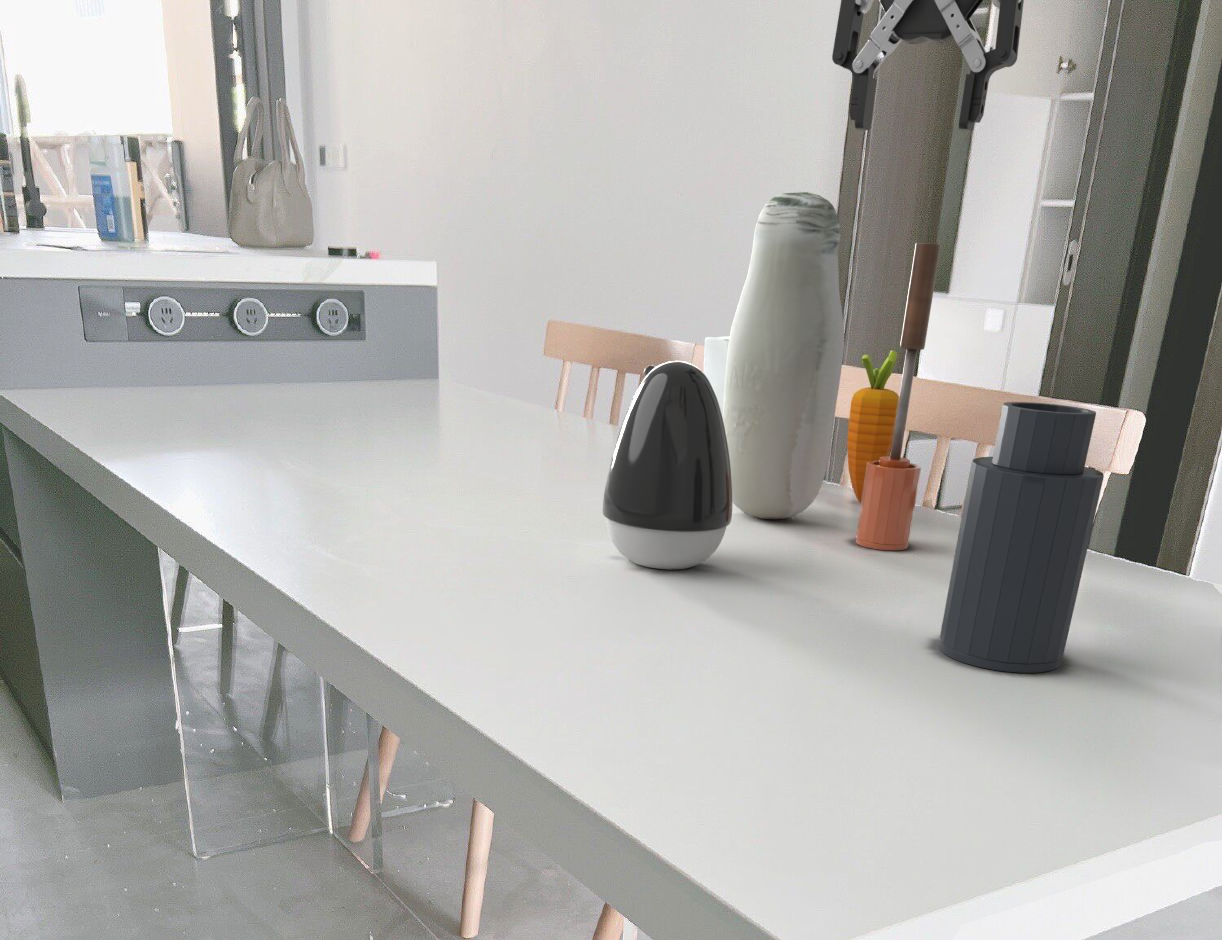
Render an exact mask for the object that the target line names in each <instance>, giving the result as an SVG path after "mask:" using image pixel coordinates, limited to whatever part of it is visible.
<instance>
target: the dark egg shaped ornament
mask: <svg viewBox="0 0 1222 940" xmlns="http://www.w3.org/2000/svg"><path fill="white" fill-rule="evenodd" d="M643 375H644V379H643V380H642V382H641V384H640V385H639V387H638V388H637V390H636V392H635V393H634V395H633V397H632V398H631V399H632V400H631V401H630V404H629V405H628V408H627V410H626V413H625V415H624V419H623V420H622V424H621V427H620V430H619V433H618V435H617V438H616V441H615V445H614V448H613V452H612V455H611V459H610V463H609V468H608V472H607V477H606V481H605V487H604V493H603V498H602V511H601V512H602V515H603V516H604V517H605V520H606V528H607V531H608V535H609V537H610V539H611V542H612V544H613V545H614V547H615V548H616V550H617V551H618V552H619V553H620V554H621V556H623V557H624V558H625V559H627V560H628V561H630V562H632V563H634V564H635V565H638V566H642V567H644V568H645V567H646V568H650V569H658V570H685V569H689V568H692V567H695V566H698V565H700V564H702V563H704V562H705V561H707V560H708V559H709V558H710V557H711V556H712V555H713V554H715V552H716V551H717V549H718V548H719V546H720V544H722V543H721V542H722V541H723V539H724V537H725V533H726V529H727V527H728V526H729V525H730V524H731V523H732V517H733V502H732V479H731V466H730V457H729V450H728V444H727V438H726V432H725V427H724V422H723V417H722V414H721V410H720V406H719V403H718V400H717V397H716V395H715V392H714V390H713V388H712V386H711V384H710V382H709V380H708V378H707V377H706V375H705V374H704V373H703V370H701V369H700V368H698V367H697V366H696V365H693V364H692V363H689V362H687V361H682V360H674V361H673V360H672V361H667V362H665V363H662V364H659V365H657V366H655V365H654V364H653V365H652V364H651V365H650V364H649V365H648V366H646V367H645V368H644V371H643Z"/></svg>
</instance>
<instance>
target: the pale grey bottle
mask: <svg viewBox="0 0 1222 940" xmlns="http://www.w3.org/2000/svg"><path fill="white" fill-rule="evenodd" d="M840 239H841V225H840V218H839V216H838V212H837V210H836V208H835V207H834V205H833V203H832V202H830V200H828V199H826V198H825V197H822V195H819V194H815V193H813V192H808V191H803V192H801V191H799V192H783V193H780V194H777V195H775V196H773V197H772V198H771V199H769V200H768V201H767V203H766V204H765V205H764V206H763V208H762V209H761V212H760V213H759V214H758V218H757V221H756V225H755V227H754V234H753V240H752V241H753V242H752V248H751V249H752V250H751V256H750V261H749V264H748V265H749V266H748V272H747V275H746V278H745V281H744V284H743V288H742V290H741V293H740V296H739V300H738V302H737V307H736V311H735V313H734V316H733V321H732V324H731V327H730V332H729V336H730V337H729V343H728V351H727V361H726V375H725V389H724V407H723V422H724V427H725V432H726V438H727V444H728V450H729V457H730V466H731V479H732V505H733V506H735V507H736V508H737V509H739V511H741V512H743V513H746V514H748V515H749V516H752V517H755V518H759V519H765V520H782V519H787V518H792V517H796V516H798V515H800V514H801V513H803V512H805V511H806V510H807V509H808V508H809V507H810V506H811V505H812V504H813V502H814V501H815V500H816V498H817V496H818V495H819V492H820V490H821V488H822V485H823V483H824V480H825V477H826V473H827V469H828V464H829V459H830V458H829V457H830V450H831V444H832V436H833V430H834V423H835V417H836V409H837V401H838V395H839V389H840V383H841V375H842V367H843V360H844V350H845V329H844V316H843V310H842V309H843V307H842V301H841V295H840V275H839V273H840V272H839V248H840V241H841V240H840Z"/></svg>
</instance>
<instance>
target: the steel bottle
mask: <svg viewBox="0 0 1222 940" xmlns="http://www.w3.org/2000/svg"><path fill="white" fill-rule="evenodd" d="M1096 416H1097V412H1096V411H1095V410H1091V409H1088V408H1084V407H1078V406H1072V405H1063V404H1054V403H1045V402H1031V401H1029V402H1028V401H1007V402H1003V404H1002V406H1001V412H1000V417H999V422H998V426H997V434H996V438H995V443H994V447H993V454H992V456H980V457H976V458H973V459H972V461H971V462H970V469H969V473H968V479H967V485H966V490H965V495H964V501H963V502H964V503H963V508H962V511H961V518H960V524H959V530H958V534H957V540H956V545H955V553H954V557H953V563H952V567H951V574H950V580H949V585H948V589H947V595H946V601H945V606H944V613H943V616H942V617H943V618H942V623H941V628H940V633H939V643H938V648H939V650H940V652H942V653H943V654H944V655H946V656H947V657H949V658H951V659H953V660H956V661H958V662H960V663H964V664H967V665H971V666H974V667H977V668H982V669H986V670H993V671H999V672H1007V673H1016V674H1017V673H1018V674H1019V673H1021V674H1033V673H1034V674H1035V673H1036V674H1037V673H1045V672H1050V671H1053V670H1056V669H1058V668H1060V666H1061V665H1062V661H1063V657H1064V654H1065V650H1066V645H1067V642H1068V636H1069V633H1070V628H1071V624H1072V620H1073V614H1074V610H1075V605H1076V601H1077V597H1078V592H1079V587H1080V583H1081V579H1082V575H1083V571H1084V566H1085V561H1086V558H1087V557H1086V556H1087V553H1088V548H1089V544H1090V539H1091V536H1092V535H1091V534H1092V530H1093V526H1094V523H1095V516H1096V513H1097V508H1098V504H1099V501H1100V500H1099V499H1100V495H1101V491H1102V487H1103V482H1104V477H1105V474H1104V473H1103V472H1102V471H1099V470H1098V469H1095V468H1092V467H1088V466H1086V462H1087V457H1088V452H1089V448H1090V443H1091V438H1092V434H1093V430H1094V427H1095V420H1096Z"/></svg>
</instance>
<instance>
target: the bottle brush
mask: <svg viewBox="0 0 1222 940" xmlns="http://www.w3.org/2000/svg"><path fill="white" fill-rule="evenodd" d="M914 246H915V247H914V253H913V258H912V266H911V271H910V272H911V274H910V279H909V286H908V291H907V292H908V293H907V299H906V305H905V310H904V311H905V312H904V317H903V318H904V319H903V325H902V331H901V338H900V345H899V347H900V349H905V356H904V363H903V369H902V376H901V383H900V390H899V394H898V396H899V401H898V408H897V414H896V421H895V427H894V434H893V440H892V447H891V450H890V454H889V456H883V457H880V460H879V466H885V467H892V468H909V464H910V463H911V460H910V459H909V458H905V457H902V450H903V445H904V437H905V432H906V425H907V418H908V412H909V405H910V400H911V394H912V388H913V387H912V386H913V380H914V375H915V374H914V373H915V368H916V362H917V357H918V355H917V354H918V351H919V350H921V351H923V350H925V347H926V342H927V334H928V330H929V323H930V316H931V310H932V303H933V297H934V292H935V285H936V278H937V271H938V266H939V260H940V254H941V247H942V245H941V244H940V243H930V242H929V243H928V242H916V243H915V245H914Z"/></svg>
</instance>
